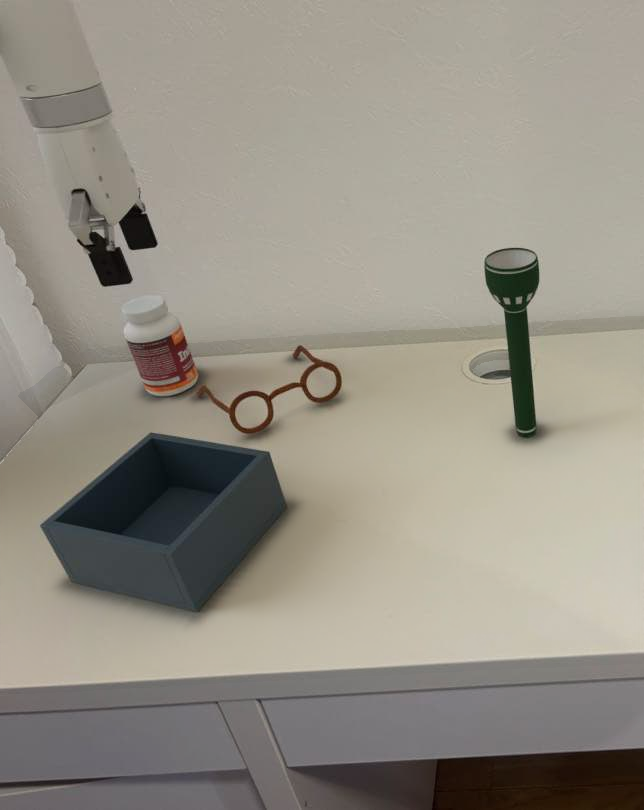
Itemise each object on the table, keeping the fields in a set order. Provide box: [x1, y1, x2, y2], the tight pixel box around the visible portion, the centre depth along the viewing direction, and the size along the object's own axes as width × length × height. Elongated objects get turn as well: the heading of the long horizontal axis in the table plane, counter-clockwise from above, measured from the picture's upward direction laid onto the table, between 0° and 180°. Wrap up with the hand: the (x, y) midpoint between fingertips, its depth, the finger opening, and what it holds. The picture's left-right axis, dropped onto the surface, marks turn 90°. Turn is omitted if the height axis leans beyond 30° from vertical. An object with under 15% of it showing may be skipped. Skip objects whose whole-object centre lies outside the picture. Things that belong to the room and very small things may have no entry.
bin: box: [39, 431, 288, 613], centre depth 72 cm, size 14×14×7 cm
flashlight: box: [483, 247, 540, 439], centre depth 79 cm, size 5×5×20 cm
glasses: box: [196, 344, 343, 435], centre depth 93 cm, size 13×13×5 cm
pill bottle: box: [121, 294, 199, 397], centre depth 95 cm, size 6×6×11 cm
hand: (131, 265), depth 89 cm, fingers open, 9 cm apart
